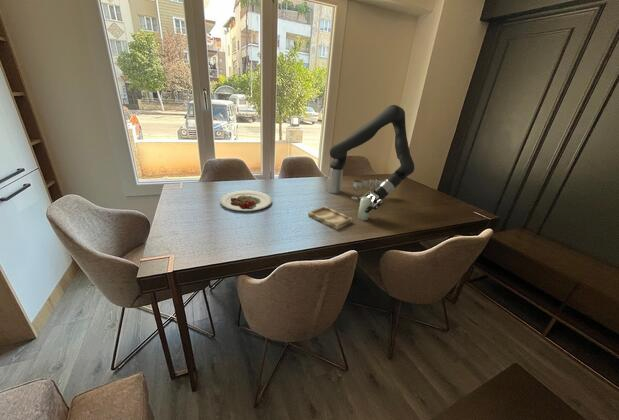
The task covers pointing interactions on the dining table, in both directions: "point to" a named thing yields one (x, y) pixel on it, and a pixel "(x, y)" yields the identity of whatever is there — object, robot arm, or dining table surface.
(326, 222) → the tray
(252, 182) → the dining table surface
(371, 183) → the goblet set
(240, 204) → the plated food
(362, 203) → the sage domed cylinder
